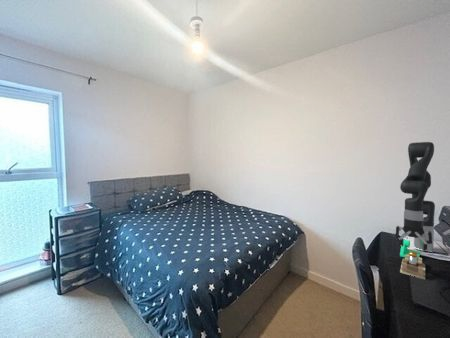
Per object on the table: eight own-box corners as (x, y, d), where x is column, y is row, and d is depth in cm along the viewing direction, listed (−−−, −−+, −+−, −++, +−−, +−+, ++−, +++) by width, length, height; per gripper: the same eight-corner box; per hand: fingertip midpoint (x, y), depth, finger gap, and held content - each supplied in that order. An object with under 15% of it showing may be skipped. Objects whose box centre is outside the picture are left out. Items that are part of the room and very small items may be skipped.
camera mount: (416, 262, 119) (417, 245, 118) (399, 257, 125) (400, 241, 124) (420, 256, 126) (420, 240, 126) (404, 252, 132) (404, 236, 132)
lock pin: (408, 268, 110) (408, 250, 110) (417, 271, 108) (417, 252, 107) (408, 271, 108) (408, 252, 107) (416, 273, 105) (417, 254, 105)
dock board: (402, 260, 121) (402, 252, 121) (425, 265, 115) (425, 257, 114) (400, 272, 108) (400, 263, 108) (425, 279, 102) (425, 270, 101)
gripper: (432, 219, 104) (431, 249, 105) (396, 214, 114) (396, 242, 115) (432, 222, 99) (432, 254, 100) (395, 217, 109) (394, 246, 110)
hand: (412, 247), depth 107 cm, fingers open, 8 cm apart
